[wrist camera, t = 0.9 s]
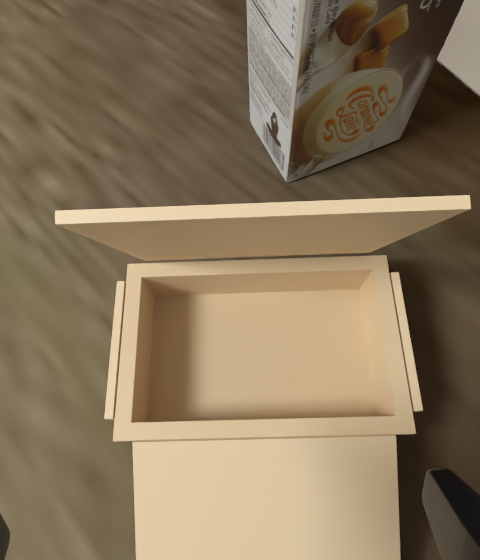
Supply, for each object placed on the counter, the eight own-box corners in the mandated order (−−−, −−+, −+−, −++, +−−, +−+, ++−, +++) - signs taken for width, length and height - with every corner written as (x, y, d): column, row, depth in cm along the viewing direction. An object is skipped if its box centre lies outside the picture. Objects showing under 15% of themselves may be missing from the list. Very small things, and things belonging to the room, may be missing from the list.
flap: (470, 208, 12) (469, 191, 12) (55, 224, 12) (55, 207, 12) (369, 252, 22) (368, 243, 22) (144, 260, 22) (143, 251, 22)
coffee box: (356, 80, 31) (448, -252, 16) (401, 141, 29) (557, -177, 14) (246, 121, 30) (237, -193, 15) (284, 188, 28) (318, -102, 13)
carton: (432, 630, 19) (472, 674, 15) (109, 634, 19) (77, 678, 16) (377, 278, 25) (397, 252, 22) (135, 286, 26) (117, 262, 22)
